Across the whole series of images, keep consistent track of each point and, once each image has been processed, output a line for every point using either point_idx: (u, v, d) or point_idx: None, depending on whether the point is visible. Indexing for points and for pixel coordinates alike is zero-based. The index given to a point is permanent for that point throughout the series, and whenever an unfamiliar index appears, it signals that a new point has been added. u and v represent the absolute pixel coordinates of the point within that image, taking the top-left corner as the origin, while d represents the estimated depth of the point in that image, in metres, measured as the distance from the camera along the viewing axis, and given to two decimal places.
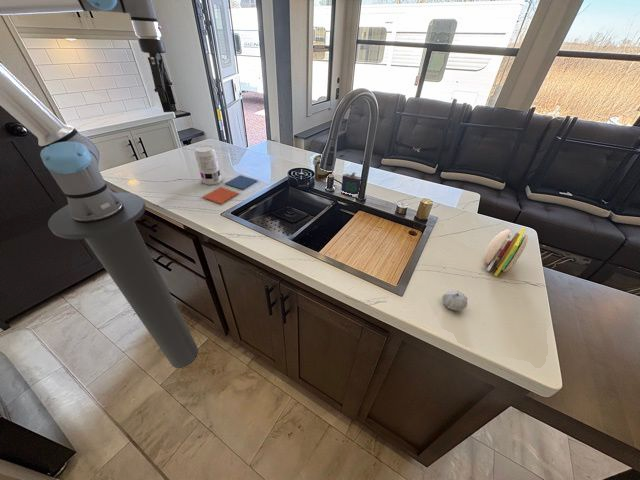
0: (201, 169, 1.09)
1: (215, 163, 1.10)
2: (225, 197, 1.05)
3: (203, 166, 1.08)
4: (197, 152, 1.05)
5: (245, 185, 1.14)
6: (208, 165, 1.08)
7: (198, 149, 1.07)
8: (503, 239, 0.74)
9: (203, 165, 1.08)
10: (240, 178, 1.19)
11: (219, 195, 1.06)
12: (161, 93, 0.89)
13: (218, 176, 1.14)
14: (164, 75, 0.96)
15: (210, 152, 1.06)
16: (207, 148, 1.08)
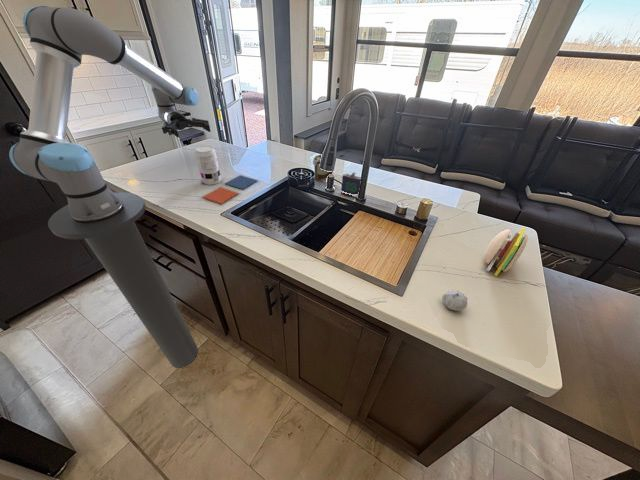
0: (201, 169, 1.09)
1: (215, 163, 1.10)
2: (225, 197, 1.05)
3: (203, 166, 1.08)
4: (197, 152, 1.05)
5: (245, 185, 1.14)
6: (208, 165, 1.08)
7: (198, 149, 1.07)
8: (503, 239, 0.74)
9: (203, 165, 1.08)
10: (240, 178, 1.19)
11: (219, 195, 1.06)
12: None
13: (218, 176, 1.14)
14: (174, 128, 1.13)
15: (210, 152, 1.06)
16: (207, 148, 1.08)
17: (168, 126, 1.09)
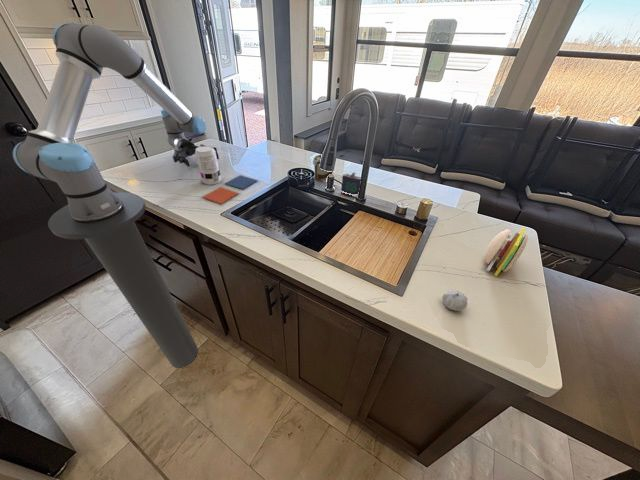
0: (201, 169, 1.09)
1: (215, 163, 1.10)
2: (225, 197, 1.05)
3: (203, 166, 1.08)
4: (197, 152, 1.05)
5: (245, 185, 1.14)
6: (208, 165, 1.08)
7: (198, 149, 1.07)
8: (503, 239, 0.74)
9: (203, 165, 1.08)
10: (240, 178, 1.19)
11: (219, 195, 1.06)
12: None
13: (218, 176, 1.14)
14: (184, 156, 1.18)
15: (210, 152, 1.06)
16: (207, 148, 1.08)
17: (179, 155, 1.14)
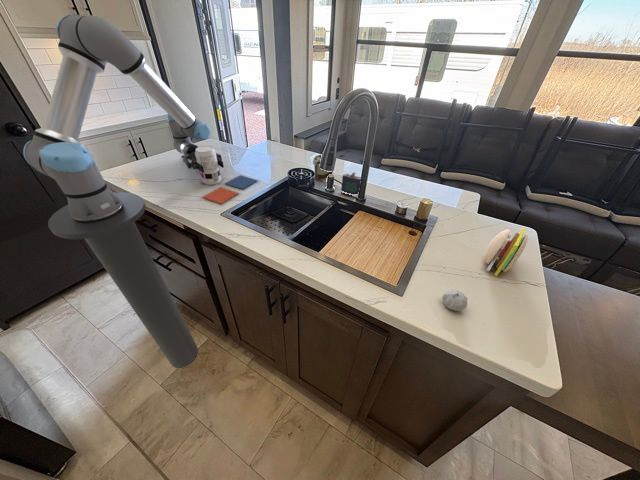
0: None
1: (215, 163, 1.10)
2: (225, 197, 1.05)
3: (203, 166, 1.08)
4: (197, 152, 1.05)
5: (245, 185, 1.14)
6: (208, 165, 1.08)
7: (198, 149, 1.07)
8: (503, 239, 0.74)
9: (203, 165, 1.08)
10: (240, 178, 1.19)
11: (219, 195, 1.06)
12: (219, 159, 1.16)
13: (218, 176, 1.14)
14: (195, 162, 1.14)
15: (210, 152, 1.06)
16: (207, 148, 1.08)
17: (192, 161, 1.10)
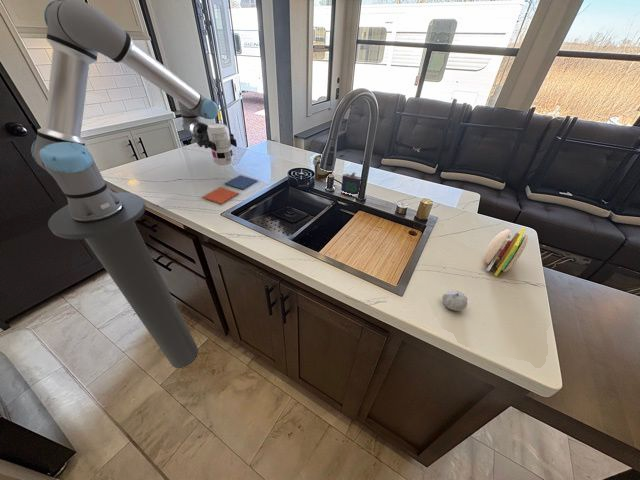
0: None
1: (228, 141, 1.05)
2: (225, 197, 1.05)
3: (216, 144, 1.02)
4: (209, 129, 1.00)
5: (245, 185, 1.14)
6: (221, 143, 1.03)
7: (210, 126, 1.01)
8: (503, 239, 0.74)
9: (216, 143, 1.02)
10: (240, 178, 1.19)
11: (219, 195, 1.06)
12: None
13: (231, 156, 1.08)
14: None
15: (223, 129, 1.01)
16: (220, 125, 1.03)
17: (204, 139, 1.04)
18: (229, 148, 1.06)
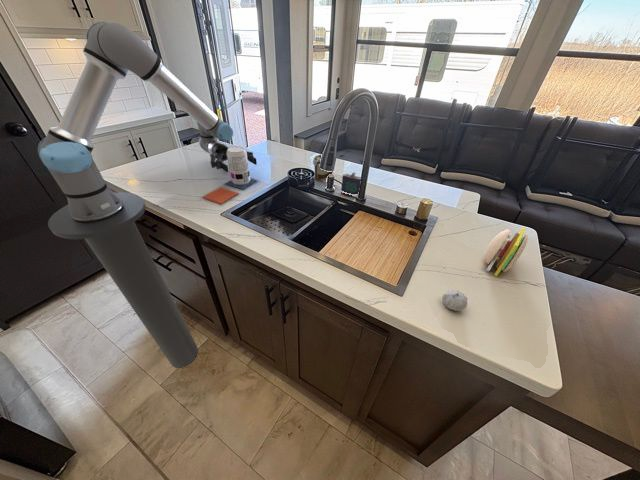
0: (232, 169, 1.09)
1: (246, 163, 1.10)
2: (225, 197, 1.05)
3: (235, 166, 1.08)
4: (229, 152, 1.05)
5: (245, 185, 1.14)
6: (240, 165, 1.08)
7: (230, 149, 1.07)
8: (503, 239, 0.74)
9: (235, 166, 1.08)
10: None
11: (219, 195, 1.06)
12: None
13: (248, 176, 1.14)
14: (221, 161, 1.13)
15: (242, 152, 1.06)
16: (238, 148, 1.08)
17: (216, 160, 1.09)
18: (247, 169, 1.12)
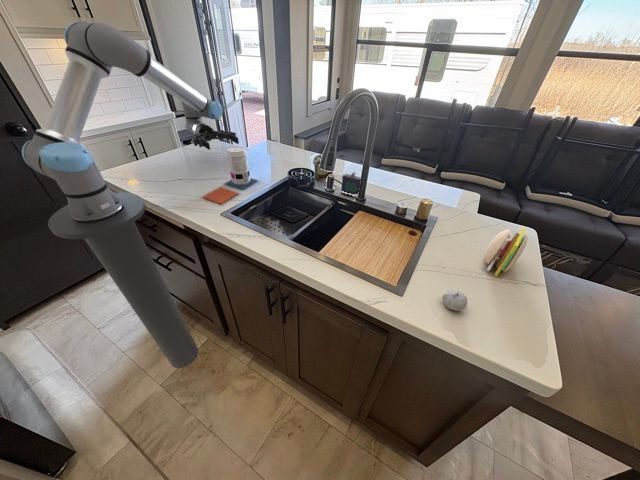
0: (232, 169, 1.09)
1: (246, 163, 1.10)
2: (225, 197, 1.05)
3: (235, 166, 1.08)
4: (229, 152, 1.05)
5: (245, 185, 1.14)
6: (240, 165, 1.08)
7: (230, 149, 1.07)
8: (503, 239, 0.74)
9: (235, 166, 1.08)
10: None
11: (219, 195, 1.06)
12: None
13: (248, 176, 1.14)
14: (204, 140, 1.17)
15: (242, 152, 1.06)
16: (238, 148, 1.08)
17: (199, 138, 1.13)
18: (247, 169, 1.12)
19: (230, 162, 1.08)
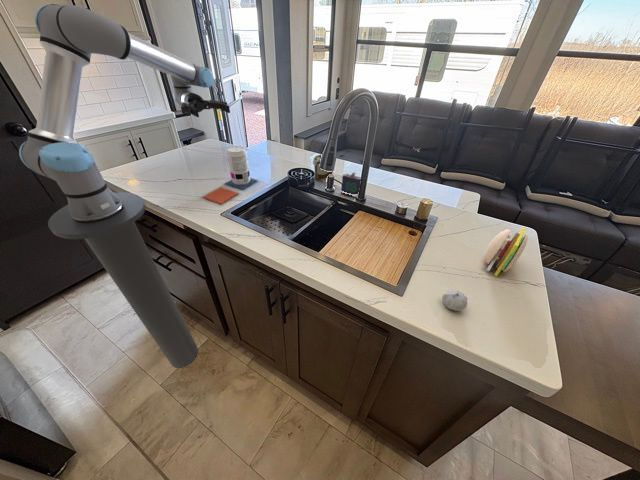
0: (232, 169, 1.09)
1: (246, 163, 1.10)
2: (225, 197, 1.05)
3: (235, 166, 1.08)
4: (229, 152, 1.05)
5: (245, 185, 1.14)
6: (240, 165, 1.08)
7: (230, 149, 1.07)
8: (503, 239, 0.74)
9: (235, 166, 1.08)
10: None
11: (219, 195, 1.06)
12: None
13: (248, 176, 1.14)
14: None
15: (242, 152, 1.06)
16: (238, 148, 1.08)
17: None
18: (247, 169, 1.12)
19: (230, 162, 1.08)
